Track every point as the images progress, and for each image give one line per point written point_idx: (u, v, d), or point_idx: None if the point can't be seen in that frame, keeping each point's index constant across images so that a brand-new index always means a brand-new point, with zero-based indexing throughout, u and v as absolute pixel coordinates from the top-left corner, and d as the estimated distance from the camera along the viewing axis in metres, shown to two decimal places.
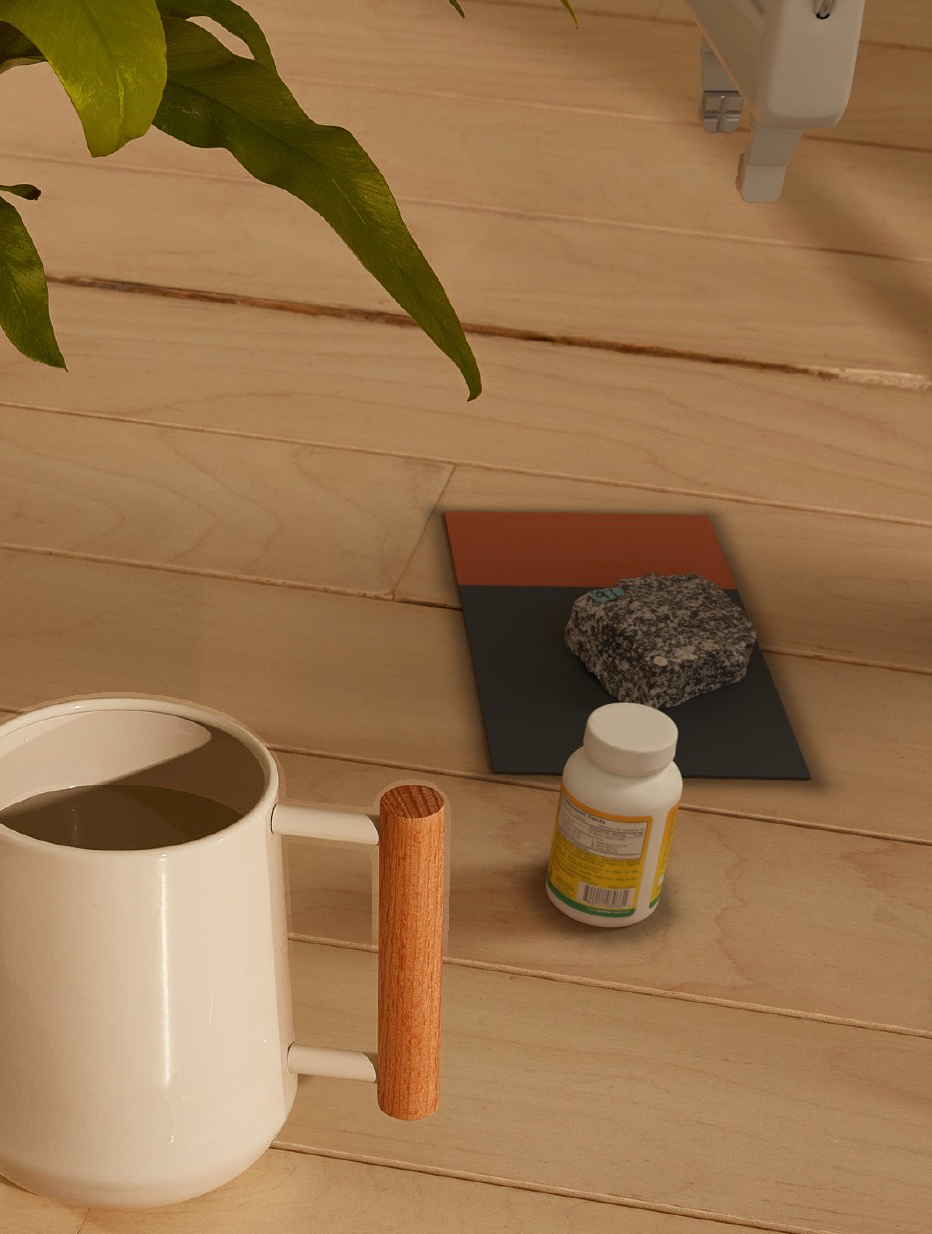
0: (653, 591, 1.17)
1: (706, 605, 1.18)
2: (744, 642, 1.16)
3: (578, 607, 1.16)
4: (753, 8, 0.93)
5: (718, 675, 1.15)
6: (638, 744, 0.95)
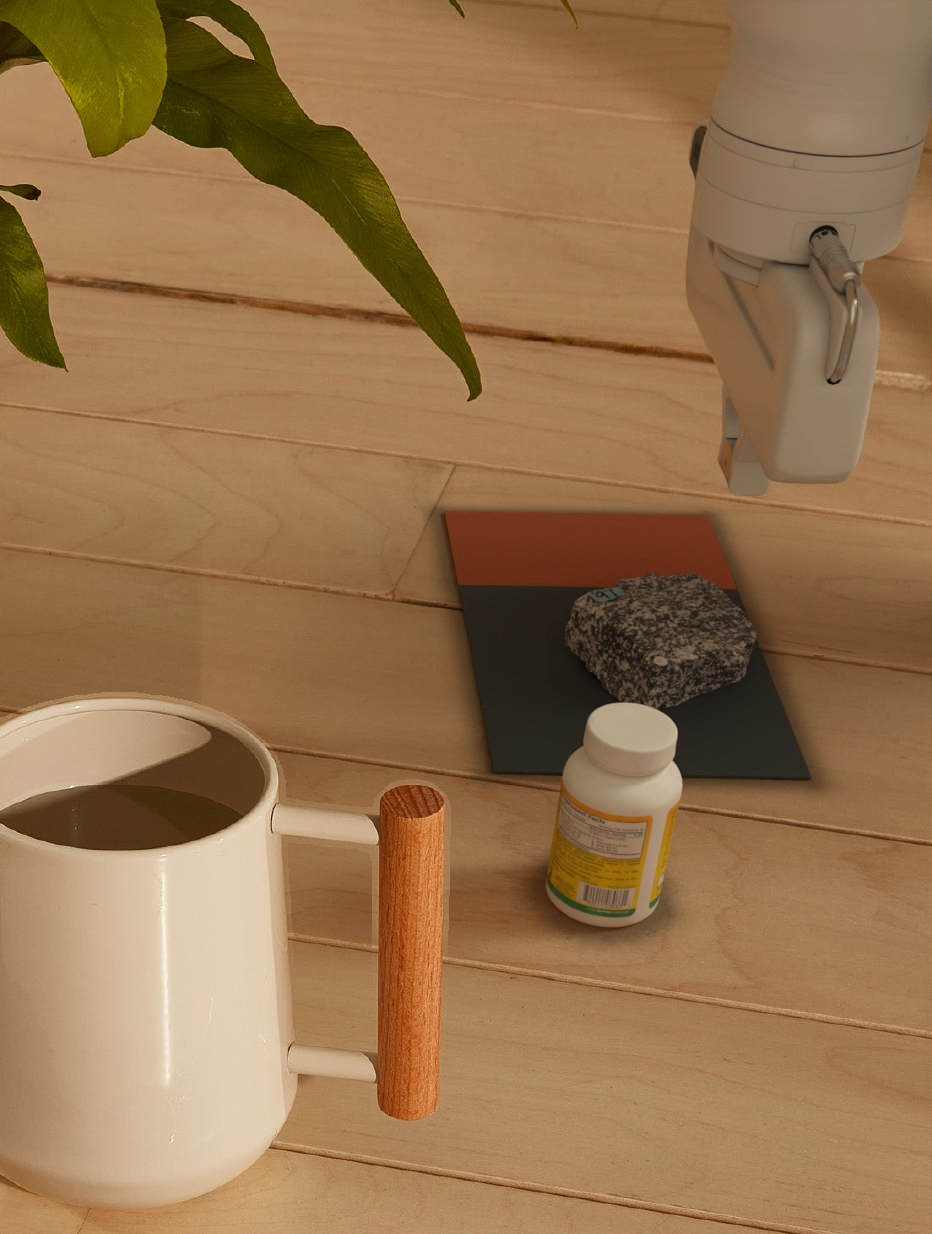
0: (653, 591, 1.17)
1: (706, 605, 1.18)
2: (744, 642, 1.16)
3: (578, 607, 1.16)
4: (762, 357, 0.92)
5: (718, 675, 1.15)
6: (638, 744, 0.95)
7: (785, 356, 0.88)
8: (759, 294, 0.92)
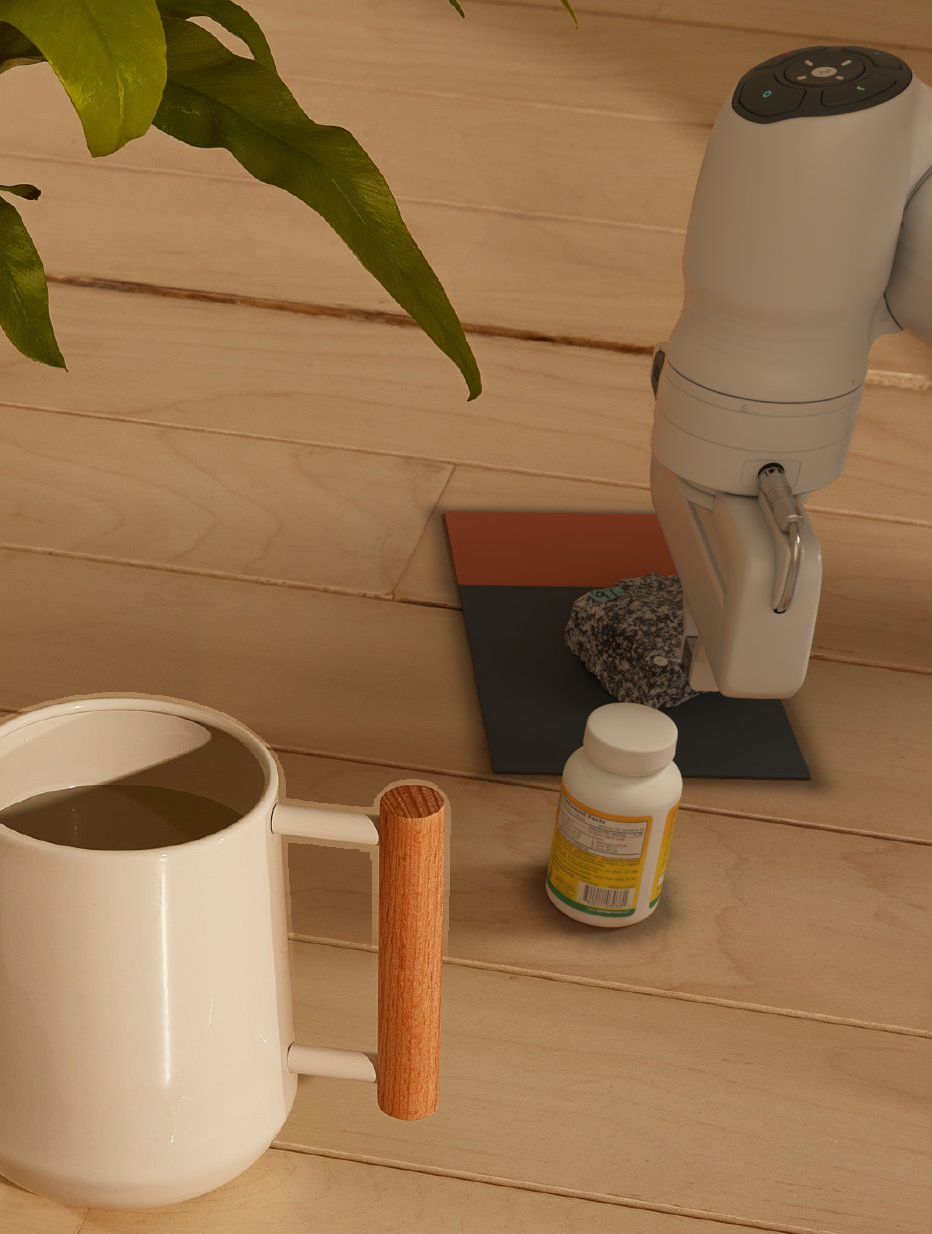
0: (653, 591, 1.17)
1: None
2: None
3: (578, 607, 1.16)
4: (715, 579, 0.98)
5: None
6: (638, 744, 0.95)
7: (735, 586, 0.95)
8: (713, 519, 0.99)
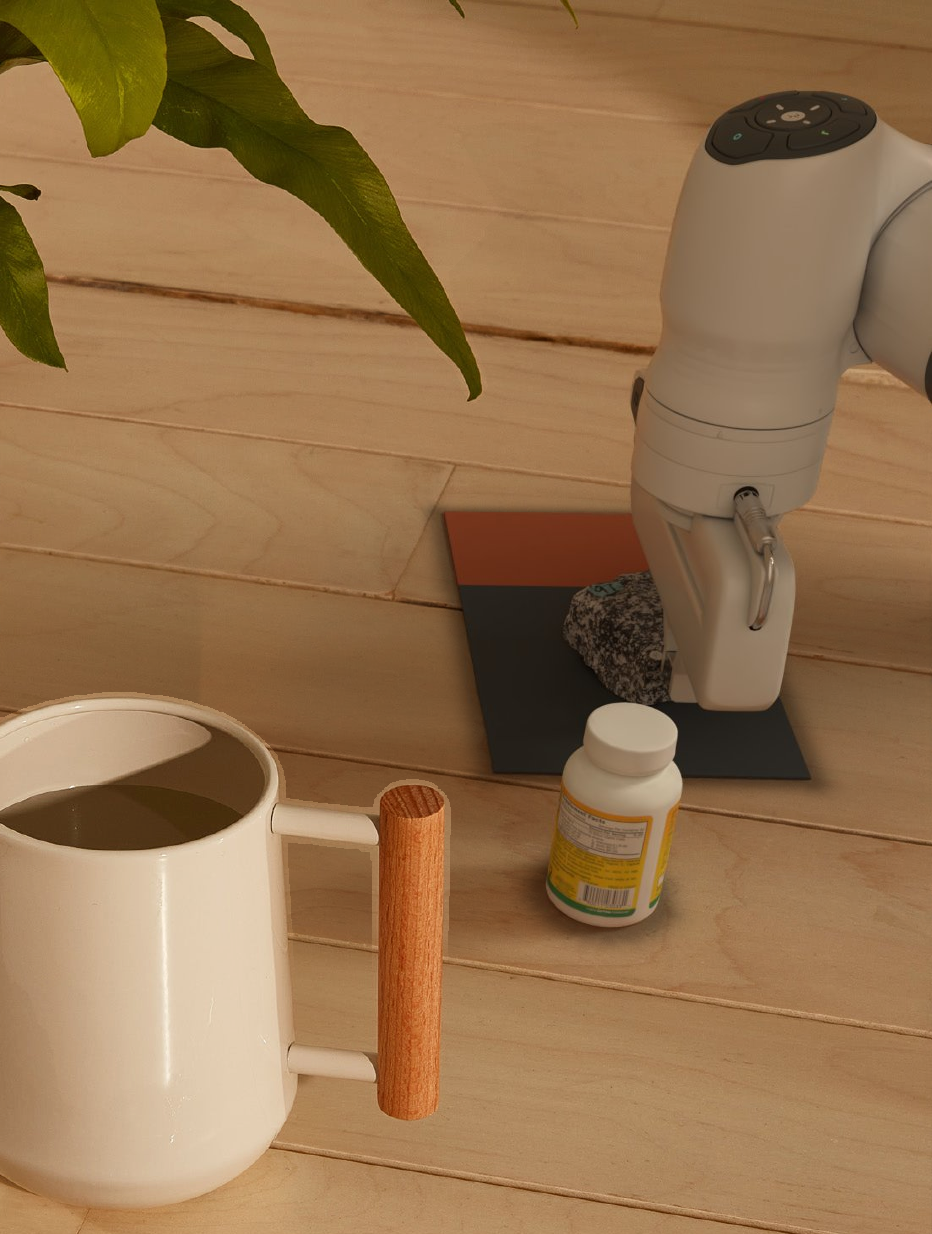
0: (652, 586, 1.17)
1: None
2: None
3: (577, 601, 1.17)
4: (694, 597, 1.03)
5: None
6: (638, 744, 0.95)
7: (712, 604, 1.00)
8: (691, 539, 1.04)
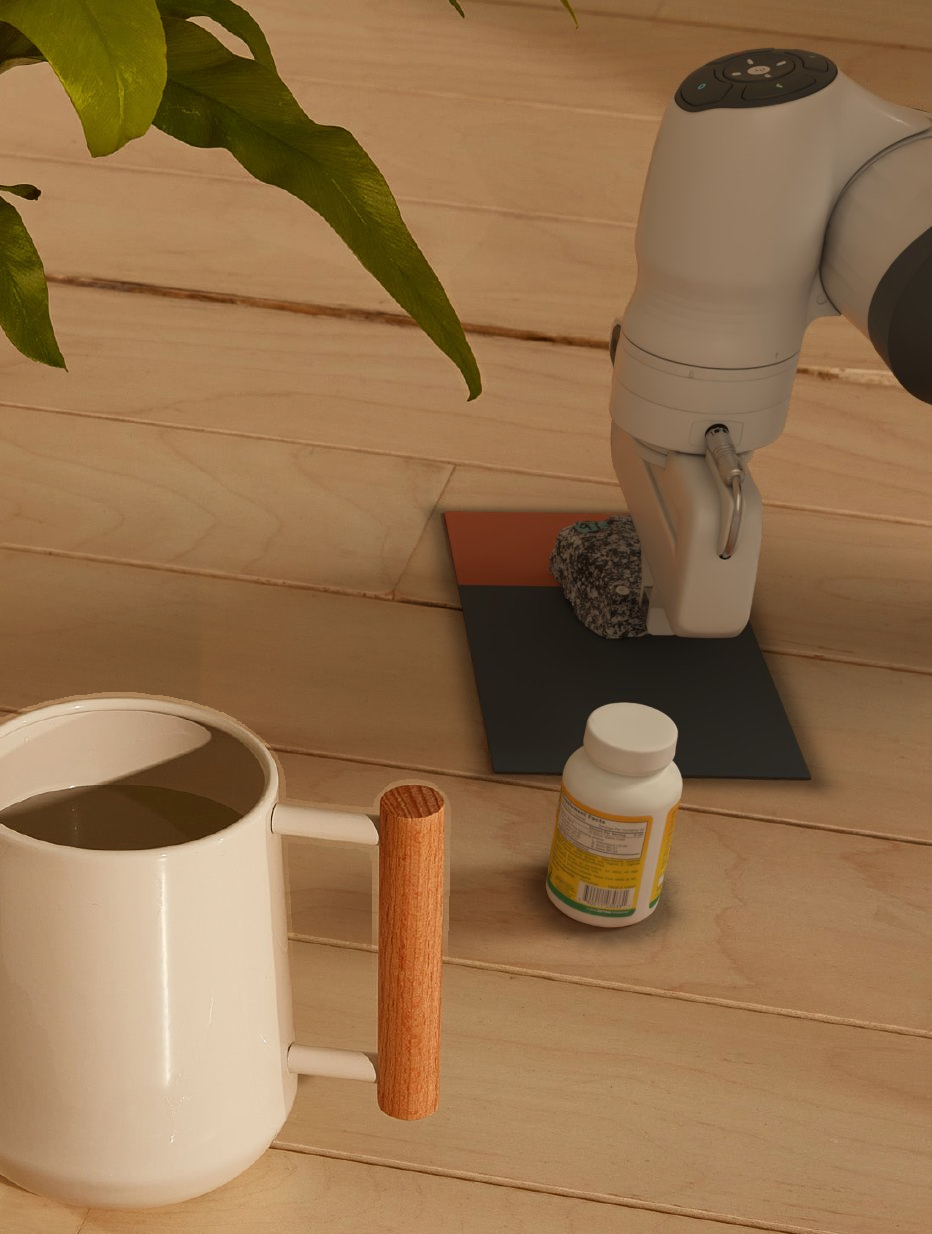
0: None
1: None
2: None
3: (561, 536, 1.23)
4: (668, 530, 1.09)
5: None
6: (638, 744, 0.95)
7: (685, 535, 1.05)
8: (665, 476, 1.09)
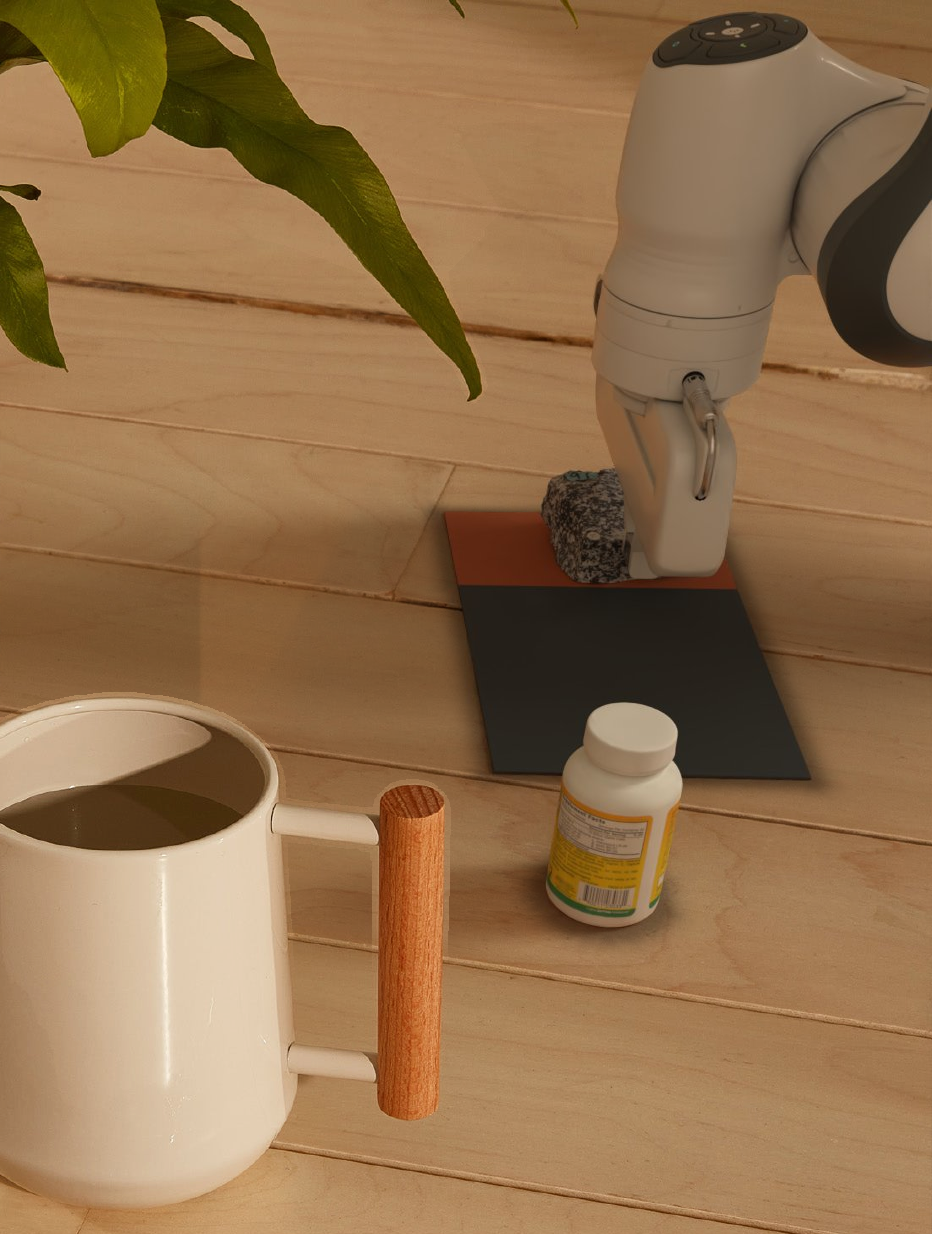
0: None
1: None
2: None
3: (551, 483, 1.28)
4: (647, 474, 1.13)
5: None
6: (638, 744, 0.95)
7: (662, 477, 1.10)
8: (645, 423, 1.14)
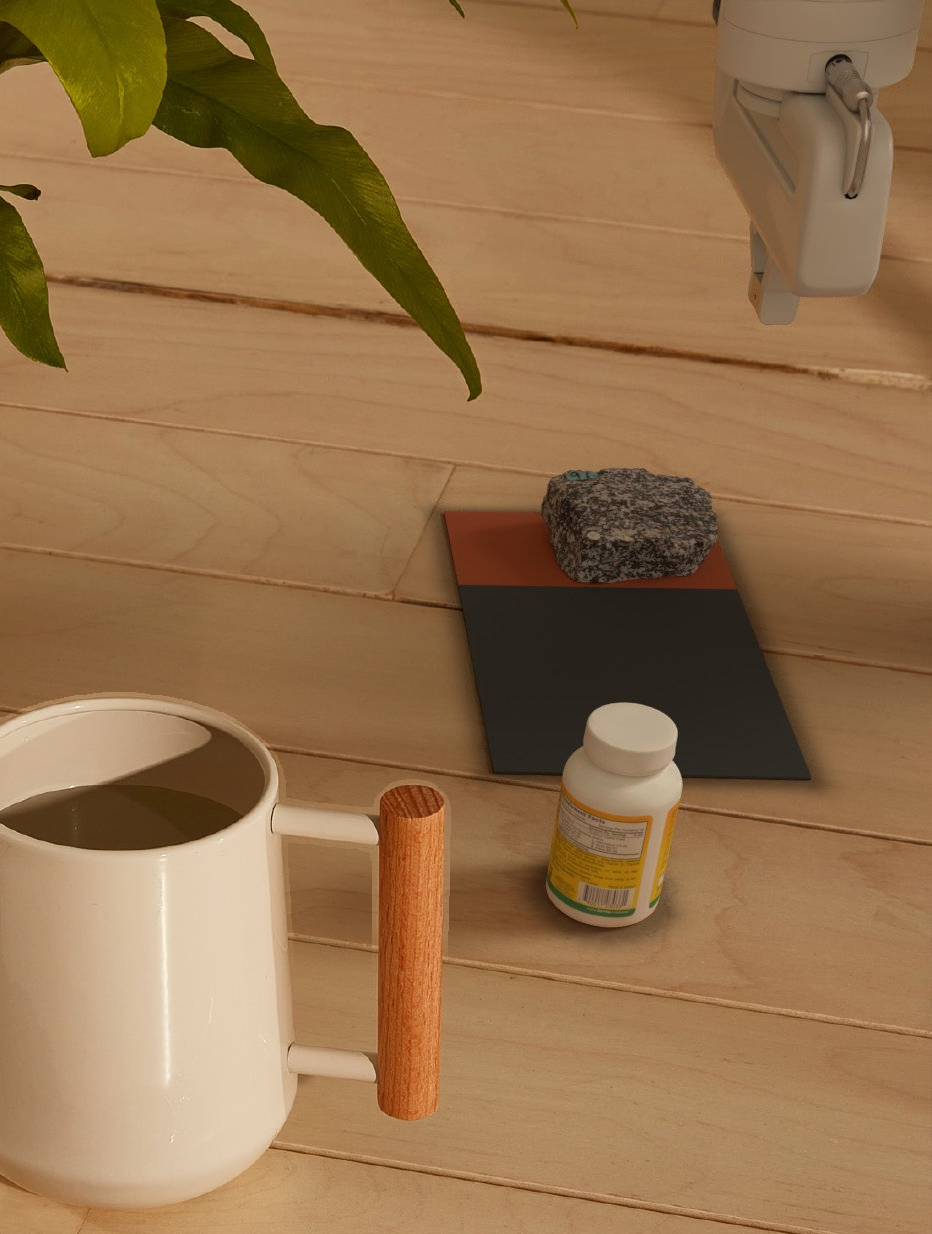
0: (627, 481, 1.27)
1: (678, 504, 1.27)
2: (694, 540, 1.25)
3: (552, 482, 1.28)
4: (784, 182, 0.98)
5: (658, 563, 1.25)
6: (638, 744, 0.95)
7: (805, 175, 0.95)
8: (780, 125, 0.99)
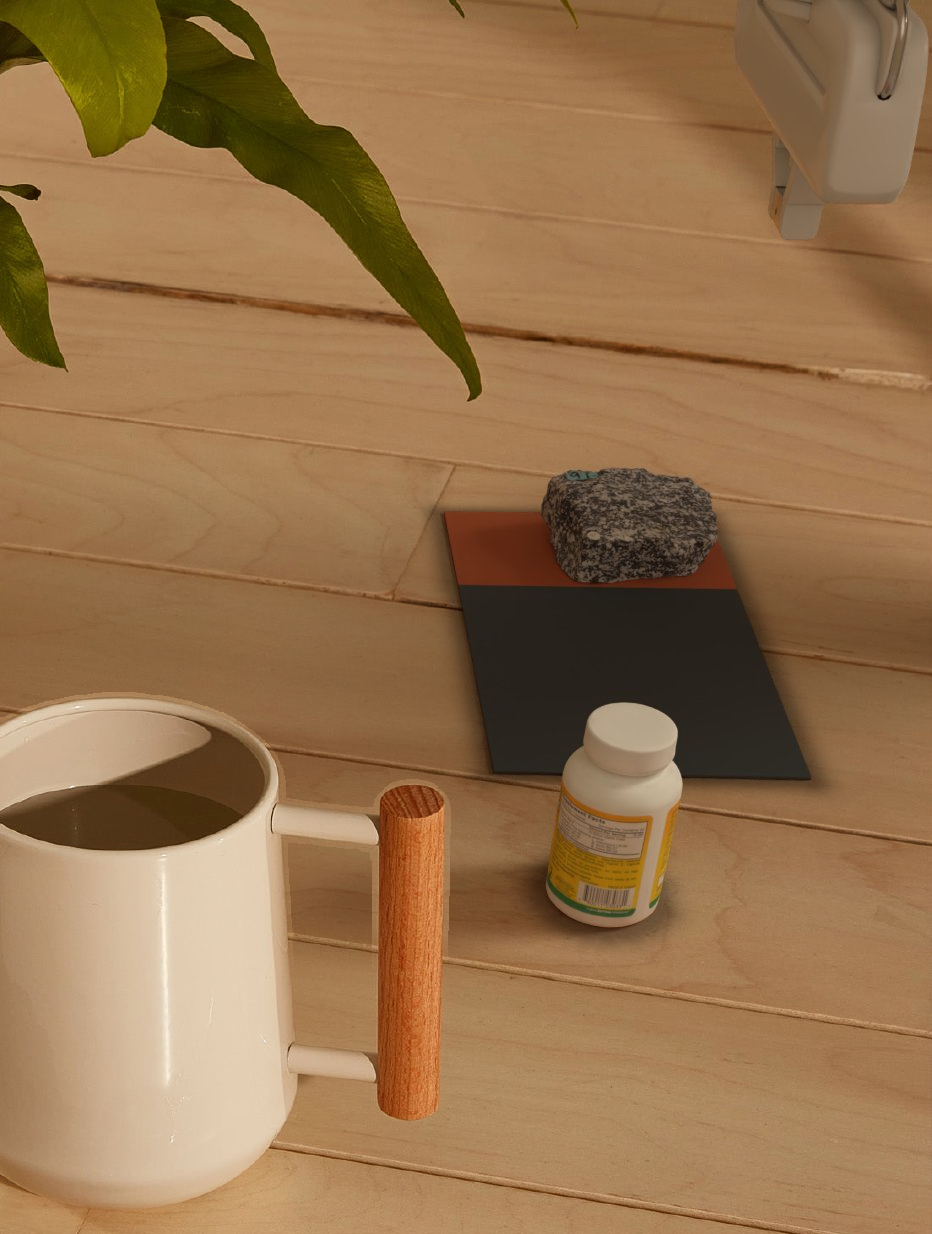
0: (627, 481, 1.27)
1: (678, 504, 1.27)
2: (694, 540, 1.25)
3: (552, 482, 1.28)
4: (813, 86, 0.95)
5: (658, 563, 1.25)
6: (638, 744, 0.95)
7: (837, 74, 0.92)
8: (810, 27, 0.96)
